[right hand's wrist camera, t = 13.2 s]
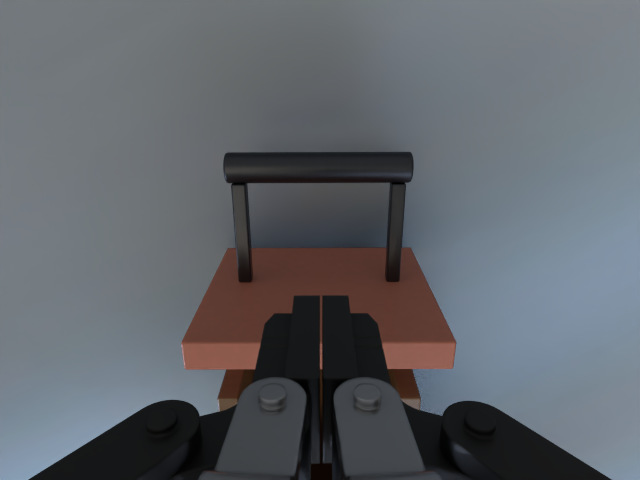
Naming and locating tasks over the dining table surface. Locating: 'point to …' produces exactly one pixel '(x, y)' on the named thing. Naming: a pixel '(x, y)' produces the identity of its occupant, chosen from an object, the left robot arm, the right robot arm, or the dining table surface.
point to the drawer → (318, 280)
